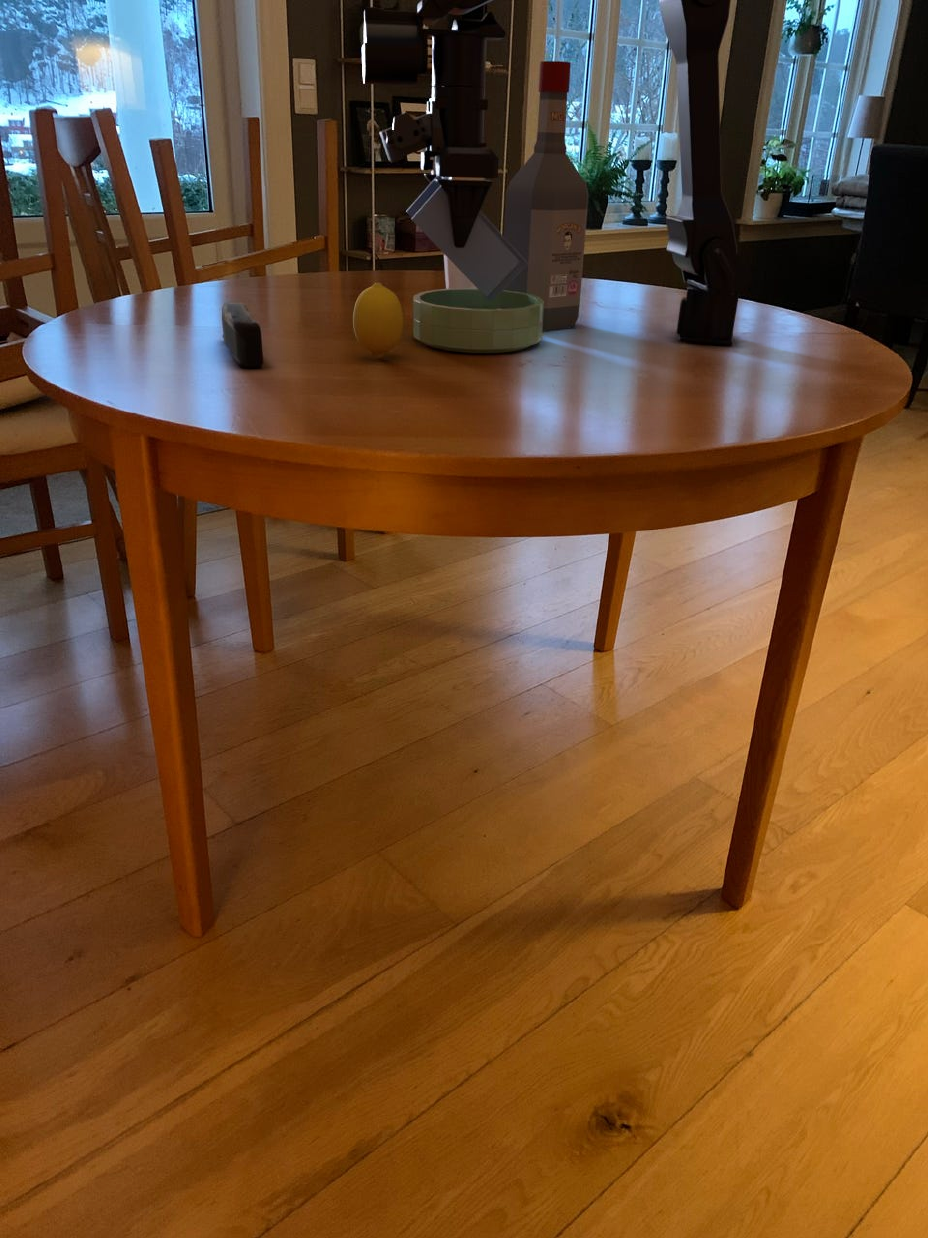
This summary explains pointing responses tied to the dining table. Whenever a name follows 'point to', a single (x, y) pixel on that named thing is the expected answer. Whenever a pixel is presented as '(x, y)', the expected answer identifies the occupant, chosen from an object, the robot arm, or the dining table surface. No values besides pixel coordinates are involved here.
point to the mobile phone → (242, 335)
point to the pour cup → (468, 243)
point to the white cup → (455, 276)
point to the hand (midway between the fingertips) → (455, 243)
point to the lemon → (378, 319)
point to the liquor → (549, 209)
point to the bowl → (477, 320)
